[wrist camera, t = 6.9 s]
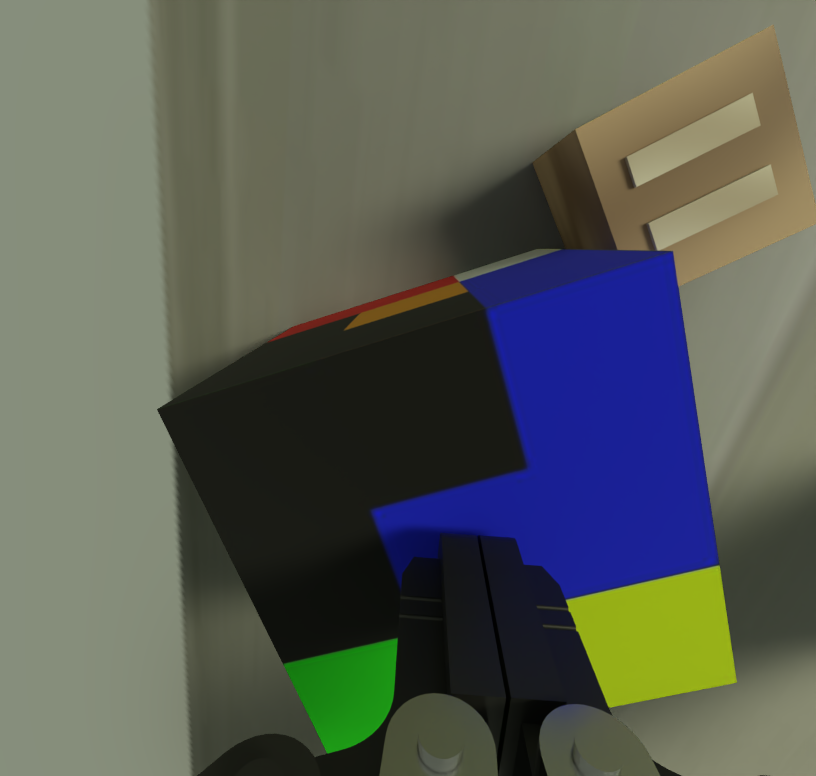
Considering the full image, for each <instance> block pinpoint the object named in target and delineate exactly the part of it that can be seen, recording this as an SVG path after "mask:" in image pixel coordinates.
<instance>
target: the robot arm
mask: <svg viewBox="0 0 816 776" xmlns="http://www.w3.org/2000/svg"><path fill="white" fill-rule="evenodd" d="M568 608H569V607H568V605H567V602H566V600H565V597H564V595H563V592H562V590H561V587H560V585H559V584H558V583H557V582H556V581H555V580H554V579H553V578H552V576H551V575H550V574H549V573H548V572H547V571H546V570H545V569H544V568H543V567H542V566H536V565H524V564H523V560H522V557H521V554H520V551H519V548H518V544H517V542H516V539H515V538H510V537H496V536H482V535H478V537H477V536H476V535H466V534H452V533H440V538H439V548H438V559H437V558H423V557H413V559H412V560H411V562H410V563H409V565H408V566H407V568H406V569H405V570H404V572H403V573H402V584H401V598H400V612H399V627H398V641H397V656H396V670H395V685H394V696H393V702H392V705H391V708H390V711H389V713H388V715H387V717H386V718H385V720H384V721H383V723H382V724H381V725H380V727H379V728H378V729H377V730H376V731H375V732H374V733H373V734H372V735H370V736H369V737H368V738H366V739H365V740H363V741H362V742H360V743H358V744H356V745H354V746H351V747H348V748H346V749H342V750H339V751H335V752H332V753H328V754H325V755H321V756H318V757H314V756H313V755H312V753H311V752H310V751H309V749H308V748H307V747H306V746H304V745H303V744H302V743H301V742H299V741H298V740H296V739H294V738H292V737H289V736H286V735H280V734H264V735H260V736H255V737H252V738H250V739H247V740H244V741H243V742H241V743H239V744H237V745H235V746H234V747H232V748H231V749H230V750H228V751H227V752H225V753H224V754H223V755H222V756H221V757H219V758H218V759H217V760H216V761H215V762H213V763H212V764H211V765H210V766H208V767H207V768H206V769H205V770H204V771H202V772H201V773H200V774H199V775H198V776H681V775H679V774H677V773H675V772H672V771H670V770H668V769H666V768H665V767H663V766H661V765H660V764H658V763H656V762H655V761H653V760H652V759H651V757H650V755H649V753H648V752H647V750H646V748H645V747H644V745H643V744H642V743H641V741H640V740H639V739H638V737H637V736H636V735H635V734H634V733H633V732H632V731H631V730H630V729H629V728H628V727H627V726H625V725H624V724H623V723H622V722H621V721H619V720H618V719H616V718H615V717H613V716H612V714H611V712H610V710H609V707H608V705H607V702H606V700H605V697H604V695H603V692H602V690H601V687H600V685H599V682H598V680H597V677H596V675H595V672H594V670H593V667H592V665H591V662H590V660H589V657H588V655H587V652H586V650H585V647H584V645H583V642H582V640H581V637H580V635H579V632H578V631H576V625H575V622H574V620H573V617H572V615H571V612H569V610H568ZM760 776H765V775H760Z"/></svg>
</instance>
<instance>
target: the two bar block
mask: <svg viewBox="0 0 816 776" xmlns="http://www.w3.org/2000/svg"><path fill="white" fill-rule="evenodd" d="M533 165H534V168H535V171H536V173H537V176H538V178H539V181H540V184H541V186H542V189H543V191H544V194H545V197H546V199H547V202H548V205H549V207H550V210H551V212H552V215H553V218H554V220H555V223H556V225H557V228H558V231H559V233H560V236H561V238H562V241H563V244H564V246H565V249H589V250H657V251H673V254H674V261H675V268H676V274H677V281H678V286H681V285H683V284H685V283H687V282H689V281H692V280H694V279H696V278H698V277H700V276H703V275H705V274H707V273H709V272H711V271H714V270H716V269H718V268H720V267H722V266H725V265H727V264H729V263H731V262H733V261H736V260H738V259H740V258H742V257H744V256H747V255H749V254H751V253H753V252H755V251H758V250H760V249H762V248H764V247H766V246H769V245H771V244H773V243H775V242H777V241H780V240H782V239H784V238H786V237H788V236H791V235H793V234H795V233H797V232H799V231H802V230H804V229H806V228H808V227H810V226H812V225H815V224H816V205H815V200H814V196H813V192H812V187H811V183H810V179H809V175H808V170H807V166H806V162H805V158H804V153H803V149H802V145H801V140H800V136H799V132H798V128H797V123H796V119H795V115H794V111H793V106H792V102H791V98H790V93H789V89H788V85H787V81H786V76H785V72H784V68H783V64H782V59H781V55H780V51H779V46H778V42H777V38H776V34H775V29H774V25H772V26H770V27H768V28H766V29H764V30H762V31H760V32H758V33H757V34H755V35H753V36H751V37H749V38H747V39H745V40H743V41H741V42H739V43H738V44H736V45H734V46H732V47H730V48H728V49H726V50H724V51H722V52H721V53H719V54H717V55H715V56H713V57H711V58H709V59H707V60H705V61H704V62H702V63H700V64H698V65H696V66H694V67H692V68H690V69H688V70H687V71H685V72H683V73H681V74H679V75H677V76H675V77H673V78H671V79H669V80H668V81H666V82H664V83H662V84H660V85H658V86H656V87H654V88H652V89H651V90H649V91H647V92H645V93H643V94H641V95H639V96H637V97H635V98H634V99H632V100H630V101H628V102H626V103H624V104H622V105H620V106H618V107H616V108H615V109H613V110H611V111H609V112H607V113H605V114H603V115H601V116H599V117H598V118H596V119H594V120H592V121H590V122H588V123H586V124H584V125H582V126H581V127H579V128H577V129H575V130H574V131H572V132H571V133H570V134H569V135H567V136H566V137H565V138H563V139H562V140H561V141H560V142H558V143H557V144H556V145H554V146H553V147H552V148H551V149H549V150H548V151H547V152H545V153H544V154H543V155H542V156H540V157H539V158H538V159H536V160H535V161H534V162H533Z"/></svg>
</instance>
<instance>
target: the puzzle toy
mask: <svg viewBox="0 0 816 776" xmlns="http://www.w3.org/2000/svg"><path fill="white" fill-rule="evenodd" d="M157 410H158V412H159V414H160V416H161V418H162V420H163V422H164V424H165V426H166V428H167V430H168V432H169V435H170V437H171V439H172V441H173V443H174V445H175V447H176V449H177V451H178V453H179V455H180V457H181V459H182V461H183V463H184V465H185V467H186V469H187V471H188V473H189V475H190V477H191V479H192V481H193V483H194V485H195V487H196V489H197V491H198V493H199V495H200V497H201V499H202V501H203V503H204V505H205V507H206V509H207V511H208V513H209V515H210V517H211V519H212V521H213V523H214V525H215V527H216V529H217V531H218V534H219V536H220V538H221V540H222V542H223V544H224V546H225V548H226V550H227V552H228V554H229V556H230V558H231V560H232V562H233V564H234V566H235V568H236V570H237V572H238V574H239V576H240V578H241V580H242V582H243V584H244V586H245V588H246V590H247V592H248V594H249V596H250V598H251V600H252V602H253V604H254V606H255V608H256V610H257V612H258V614H259V616H260V618H261V620H262V622H263V624H264V626H265V628H266V630H267V633H268V635H269V637H270V639H271V641H272V643H273V645H274V647H275V649H276V651H277V653H278V655H279V657H280V659H281V661H282V663H283V665H284V667H285V669H286V671H287V673H288V675H289V677H290V679H291V681H292V683H293V685H294V687H295V689H296V691H297V693H298V695H299V697H300V699H301V701H302V703H303V705H304V707H305V709H306V711H307V713H308V715H309V717H310V719H311V721H312V723H313V725H314V727H315V729H316V732H317V734H318V736H319V738H320V740H321V742H322V744H323V746H324V748H325V750H326V752H327V754H328V753H332V752H335V751H339V750H342V749H346V748H348V747H351V746H354V745H356V744H358V743H360V742H362V741H363V740H365V739H366V738H368V737H369V736H370V735H372V734H373V733H374V732H375V731H376V730H377V729H378V728H379V727H380V725H381V724H382V723H383V721H384V720H385V718H386V717H387V715H388V713H389V711H390V708H391V705H392V702H393V696H394V685H395V670H396V656H397V641H398V627H399V612H400V598H401V584H402V573H403V572H404V570H405V569H406V568H407V566H408V565H409V563H410V562H411V560H412V559H413V557H423V558H437V559H438V548H439V538H440V533H452V534H466V535H476V536H477V537H478V535H482V536H496V537H510V538H515V539H516V542H517V544H518V548H519V551H520V554H521V557H522V560H523V564H524V565H536V566H542V567H543V568H544V569H545V570H546V571H547V572H548V573H549V574H550V575H551V576H552V578H553V579H554V580H555V581H556V582H557V583H558V584H559V585H560V587H561V590H562V592H563V595H564V597H565V600H566V602H567V605H568V607H569V608H568V610H569V612H571V615H572V617H573V620H574V622H575V625H576V631H578V632H579V635H580V637H581V640H582V642H583V645H584V647H585V650H586V652H587V655H588V657H589V660H590V662H591V665H592V667H593V670H594V672H595V675H596V677H597V680H598V682H599V685H600V687H601V690H602V692H603V695H604V697H605V700H606V702H607V705H608V707H609V708H610V707H615V706H620V705H625V704H630V703H635V702H640V701H645V700H651V699H656V698H661V697H666V696H671V695H676V694H681V693H686V692H691V691H697V690H702V689H707V688H712V687H717V686H722V685H727V684H732V683H737V680H736V674H735V667H734V660H733V653H732V647H731V640H730V633H729V626H728V620H727V613H726V606H725V599H724V592H723V586H722V579H721V572H720V565H719V559H718V552H717V545H716V538H715V532H714V525H713V518H712V511H711V504H710V498H709V491H708V484H707V477H706V471H705V464H704V457H703V450H702V444H701V437H700V430H699V423H698V416H697V410H696V403H695V396H694V389H693V383H692V376H691V369H690V362H689V356H688V349H687V342H686V335H685V328H684V322H683V315H682V308H681V301H680V295H679V288H678V281H677V274H676V268H675V261H674V254H673V251H657V250H589V249H535V250H532V251H529V252H526V253H523V254H520V255H516V256H513V257H510V258H507V259H504V260H501V261H498V262H495V263H491V264H488V265H485V266H482V267H479V268H476V269H473V270H469V271H466V272H463V273H460V274H457V275H454V276H451V277H447V278H444V279H441V280H438V281H435V282H432V283H429V284H426V285H422V286H419V287H416V288H413V289H410V290H407V291H404V292H400V293H397V294H394V295H391V296H388V297H385V298H382V299H378V300H375V301H372V302H369V303H366V304H363V305H360V306H356V307H353V308H350V309H347V310H344V311H341V312H338V313H335V314H331V315H328V316H325V317H322V318H319V319H316V320H313V321H309V322H306V323H303V324H300V325H297V326H294V327H292V328H290V329H288V330H287V331H285V332H284V333H282V334H280V335H279V336H277V337H275V338H274V339H272V340H270V341H269V342H267V343H265V344H264V345H262V346H261V347H259V348H257V349H256V350H254V351H252V352H251V353H249V354H247V355H246V356H244V357H242V358H241V359H239V360H237V361H236V362H234V363H233V364H231V365H229V366H228V367H226V368H224V369H223V370H221V371H219V372H218V373H216V374H214V375H213V376H211V377H209V378H208V379H206V380H205V381H203V382H201V383H200V384H198V385H196V386H195V387H193V388H191V389H190V390H188V391H186V392H185V393H183V394H182V395H180V396H178V397H177V398H175V399H173V400H172V401H170V402H168V403H167V404H165V405H163V406H162V407H160V408H158V409H157Z"/></svg>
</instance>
